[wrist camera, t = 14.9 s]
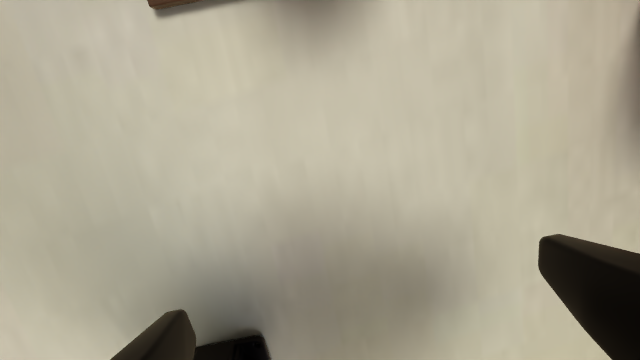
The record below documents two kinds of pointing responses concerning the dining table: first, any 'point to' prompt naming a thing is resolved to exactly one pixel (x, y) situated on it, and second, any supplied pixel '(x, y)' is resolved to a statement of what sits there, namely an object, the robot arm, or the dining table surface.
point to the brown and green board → (168, 3)
